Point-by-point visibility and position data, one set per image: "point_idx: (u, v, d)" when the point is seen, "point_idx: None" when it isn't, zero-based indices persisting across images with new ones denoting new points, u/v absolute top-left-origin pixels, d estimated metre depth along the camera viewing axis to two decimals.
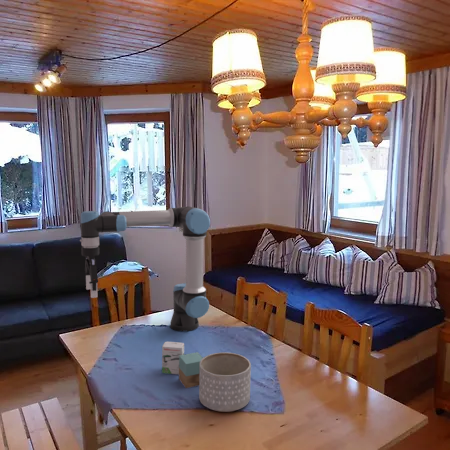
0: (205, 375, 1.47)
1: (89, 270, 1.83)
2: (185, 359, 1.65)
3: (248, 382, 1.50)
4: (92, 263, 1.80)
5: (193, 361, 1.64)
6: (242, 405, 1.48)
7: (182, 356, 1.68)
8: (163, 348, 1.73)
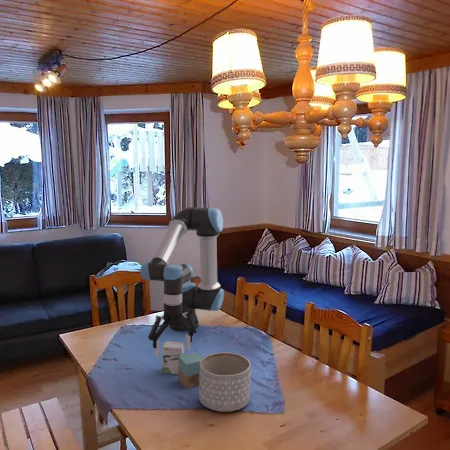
0: (205, 375, 1.47)
1: None
2: (185, 360, 1.65)
3: (248, 382, 1.50)
4: (156, 319, 1.70)
5: (193, 361, 1.64)
6: (242, 405, 1.48)
7: (182, 356, 1.68)
8: (163, 348, 1.73)
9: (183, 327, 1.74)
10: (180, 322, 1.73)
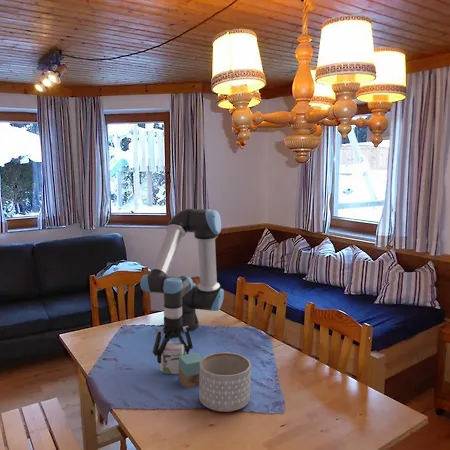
0: (205, 375, 1.47)
1: None
2: (185, 360, 1.65)
3: (248, 382, 1.50)
4: (157, 334, 1.71)
5: (193, 361, 1.64)
6: (242, 405, 1.48)
7: (182, 356, 1.68)
8: None
9: (181, 341, 1.75)
10: (179, 335, 1.74)
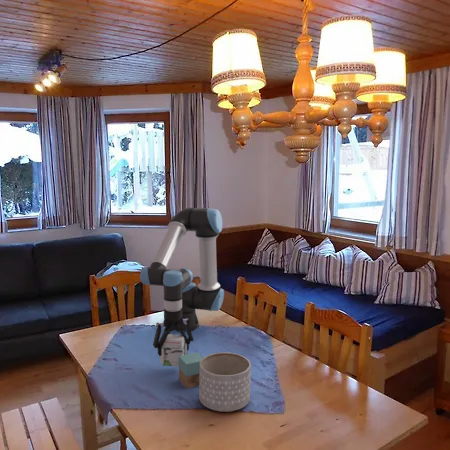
0: (205, 375, 1.47)
1: None
2: (185, 359, 1.65)
3: (248, 382, 1.50)
4: (157, 327, 1.71)
5: (193, 361, 1.64)
6: (242, 405, 1.48)
7: (182, 356, 1.68)
8: None
9: (181, 334, 1.75)
10: (179, 328, 1.73)
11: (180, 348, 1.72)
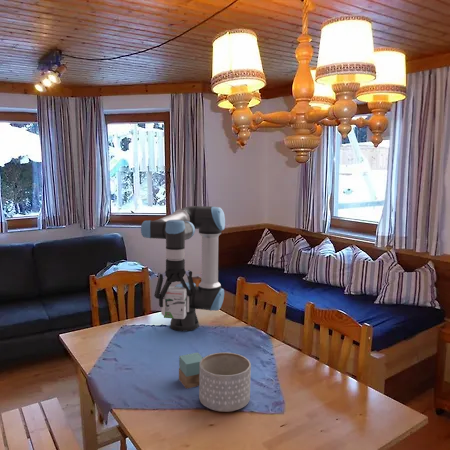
0: (205, 375, 1.47)
1: None
2: (186, 360, 1.65)
3: (248, 382, 1.50)
4: (158, 277, 1.67)
5: (193, 361, 1.64)
6: (242, 405, 1.48)
7: (182, 356, 1.68)
8: None
9: (183, 285, 1.70)
10: (182, 279, 1.69)
11: (182, 299, 1.68)
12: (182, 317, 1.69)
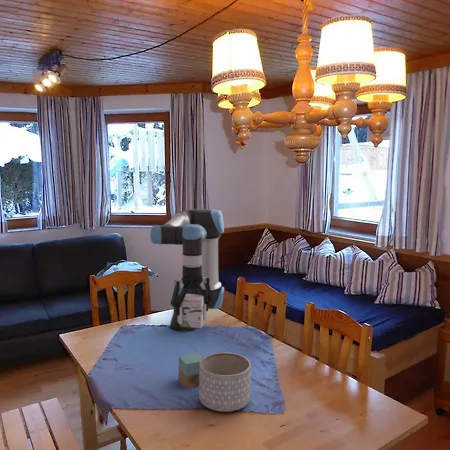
0: (205, 375, 1.47)
1: None
2: (185, 359, 1.65)
3: (248, 382, 1.50)
4: (175, 284, 1.60)
5: (193, 361, 1.64)
6: (242, 405, 1.48)
7: (182, 356, 1.68)
8: None
9: (201, 293, 1.64)
10: (199, 286, 1.62)
11: (199, 307, 1.61)
12: (199, 326, 1.62)
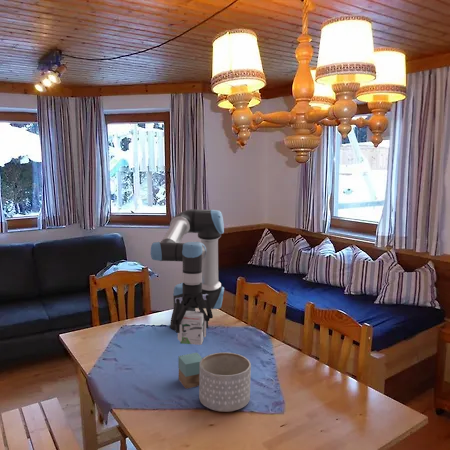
0: (205, 375, 1.47)
1: None
2: (185, 360, 1.65)
3: (248, 382, 1.50)
4: (175, 301, 1.61)
5: (192, 361, 1.64)
6: (242, 405, 1.48)
7: (181, 356, 1.68)
8: None
9: (200, 310, 1.65)
10: (199, 303, 1.63)
11: (199, 324, 1.62)
12: (199, 343, 1.63)
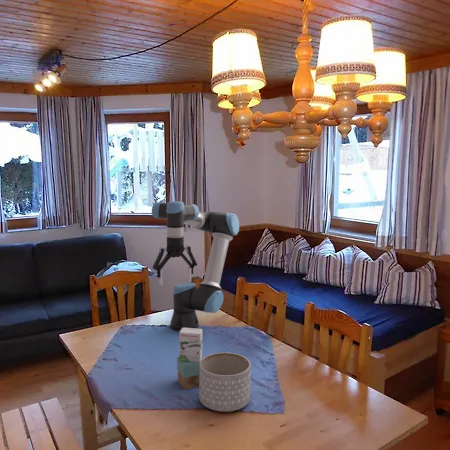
0: (205, 375, 1.47)
1: None
2: (183, 361, 1.64)
3: (248, 382, 1.50)
4: (160, 251, 1.85)
5: (191, 362, 1.63)
6: (242, 405, 1.48)
7: None
8: (180, 334, 1.63)
9: (185, 259, 1.89)
10: (182, 254, 1.88)
11: (198, 342, 1.62)
12: (198, 360, 1.63)
